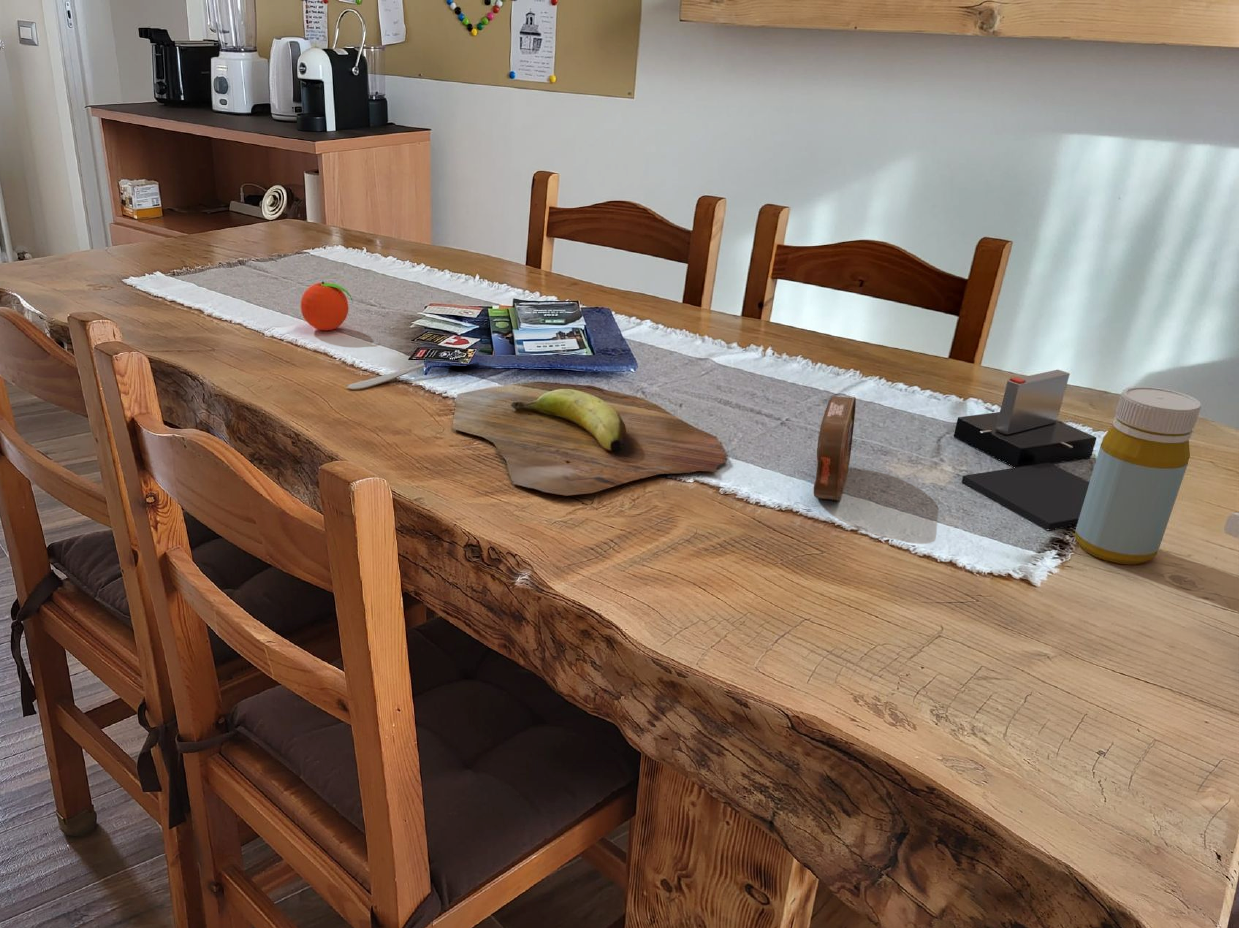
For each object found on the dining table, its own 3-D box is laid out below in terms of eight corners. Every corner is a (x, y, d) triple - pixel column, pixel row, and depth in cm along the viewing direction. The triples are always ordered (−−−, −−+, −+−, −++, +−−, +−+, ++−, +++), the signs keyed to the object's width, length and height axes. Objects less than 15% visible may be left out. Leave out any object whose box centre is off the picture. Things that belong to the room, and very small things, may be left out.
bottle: (1057, 533, 100) (1100, 385, 93) (1125, 531, 101) (1172, 384, 94) (1100, 568, 94) (1149, 412, 87) (1171, 566, 95) (1225, 411, 88)
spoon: (490, 366, 141) (491, 354, 140) (355, 393, 129) (355, 381, 128) (473, 358, 144) (473, 347, 143) (340, 384, 132) (339, 372, 131)
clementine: (363, 325, 156) (360, 278, 153) (346, 338, 150) (344, 289, 147) (312, 321, 157) (309, 274, 154) (294, 334, 151) (291, 285, 148)
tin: (836, 514, 102) (850, 435, 98) (804, 509, 103) (817, 430, 99) (850, 460, 115) (863, 388, 111) (821, 455, 116) (833, 383, 112)
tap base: (1022, 421, 128) (1027, 401, 126) (1109, 462, 117) (1116, 440, 116) (936, 433, 123) (941, 412, 122) (1019, 476, 112) (1025, 453, 111)
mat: (1047, 469, 114) (1049, 462, 114) (1138, 514, 104) (1141, 507, 104) (961, 482, 110) (962, 475, 110) (1047, 530, 100) (1049, 523, 100)
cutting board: (765, 466, 113) (770, 433, 111) (548, 514, 100) (550, 477, 98) (593, 373, 139) (595, 345, 138) (405, 401, 127) (405, 371, 125)
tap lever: (1044, 418, 122) (1058, 367, 119) (1056, 422, 120) (1070, 371, 118) (994, 430, 117) (1007, 378, 115) (1006, 435, 116) (1020, 382, 113)
